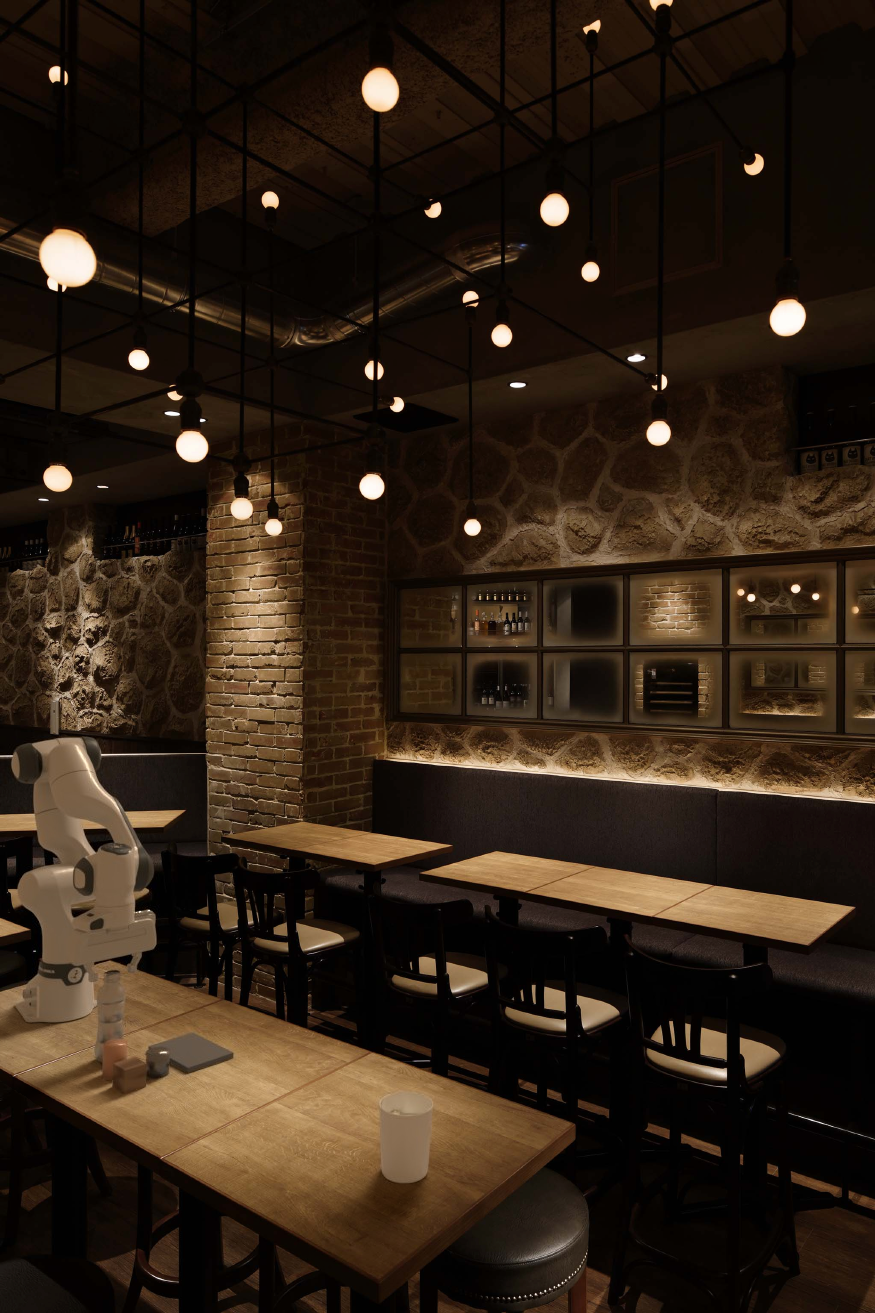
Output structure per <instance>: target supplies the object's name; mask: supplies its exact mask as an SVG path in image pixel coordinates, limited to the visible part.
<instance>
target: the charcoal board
mask: <svg viewBox="0 0 875 1313" xmlns="http://www.w3.org/2000/svg"><path fill="white" fill-rule="evenodd" d="M154 1047H167V1048H169V1049H170V1059H169V1065H172V1066H174V1067H176V1068H177V1069H179V1070H181V1071H183V1072H185V1073H187V1074H190V1073H193V1072H197V1071H199V1070H201V1069H204V1068H208V1067H211V1066H214V1065H217V1064H219V1063H223V1062H225V1061H228V1060H231V1059H233V1058H234V1054H235V1053H234V1052H233V1051H231V1050H229V1049H227V1048H226V1047H223V1046H222V1045H219V1044H218V1043H216V1042H213V1041H211V1040H210V1039H208V1038H205V1037H203V1036H201V1035H198V1034H197V1033H195V1032H190V1033H187V1034H184V1035H180V1036H177V1037H174V1038H170V1039H167V1040H164V1041H160V1042H157V1043H155V1044H154V1043H153V1044H150V1045H148V1047H147V1048H148V1049H147V1050H149V1049H151V1048H154ZM216 1063H217V1064H216ZM213 1064H214V1065H213Z"/></svg>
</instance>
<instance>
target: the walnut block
mask: <svg viewBox="0 0 875 1313" xmlns="http://www.w3.org/2000/svg"><path fill="white" fill-rule="evenodd" d="M146 1071H147V1063H146V1061H143V1060H141V1059H140V1058H138V1057H136V1056H133V1057H129V1058H127V1059H126V1060H123V1061H119V1062H116V1063H113V1080H112V1088H114V1089H115V1090H117V1091H119V1092H120V1093H122V1094H123V1095H126V1094H129V1093H131V1092H134V1091H138V1090H141V1089H143V1088H147V1077H146Z"/></svg>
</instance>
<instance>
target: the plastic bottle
mask: <svg viewBox="0 0 875 1313" xmlns="http://www.w3.org/2000/svg"><path fill="white" fill-rule="evenodd" d="M121 972H122V971H121V970H120V969H109V970H105V971H104V973H103V980H102V981H103V982H104V983H103V985H102V986H101V987H100V989H99V990H98V992H97V995H96V1000H97V1006H96V1007H97V1021H98V1022H97V1025H98V1026H97V1035H96V1041H95V1044H94V1051H93V1052H94V1058H95V1059H96V1060H97V1061H98V1062H99V1063H102V1064H103V1044H104V1042H106V1041H108V1040H111V1039H124V1032H123V1031H124V1029H123V1028H124V1027H123V1022H124V1021H123V1018H124V1009H125V1004H126V998H127V992H126V990H125V987H124V985H122V983H121V982H120V981H121V980H122V979H121V978H122V977H121Z"/></svg>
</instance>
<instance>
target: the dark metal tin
mask: <svg viewBox="0 0 875 1313" xmlns="http://www.w3.org/2000/svg"><path fill="white" fill-rule="evenodd" d="M145 1055H146V1056H145V1063H147V1071H146V1079H150V1080H158V1079H163V1078H165V1077H167V1076H169V1074H170V1063H169V1059H170V1049H169V1048H167V1047H154V1048H151V1049H149V1050H148V1049H147V1050H146V1054H145Z"/></svg>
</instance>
